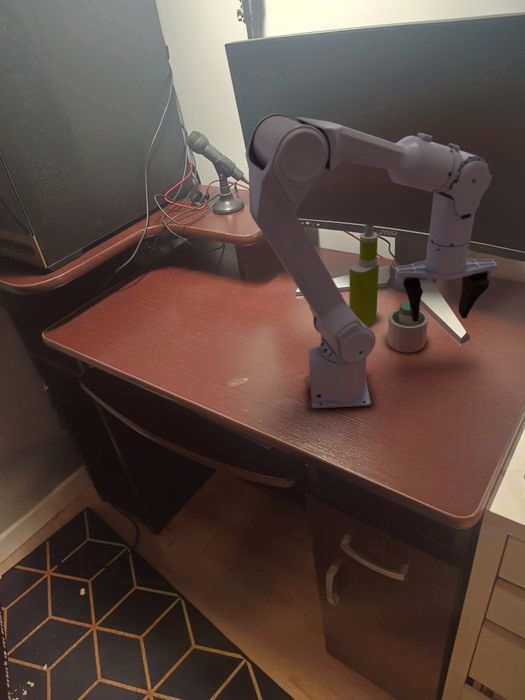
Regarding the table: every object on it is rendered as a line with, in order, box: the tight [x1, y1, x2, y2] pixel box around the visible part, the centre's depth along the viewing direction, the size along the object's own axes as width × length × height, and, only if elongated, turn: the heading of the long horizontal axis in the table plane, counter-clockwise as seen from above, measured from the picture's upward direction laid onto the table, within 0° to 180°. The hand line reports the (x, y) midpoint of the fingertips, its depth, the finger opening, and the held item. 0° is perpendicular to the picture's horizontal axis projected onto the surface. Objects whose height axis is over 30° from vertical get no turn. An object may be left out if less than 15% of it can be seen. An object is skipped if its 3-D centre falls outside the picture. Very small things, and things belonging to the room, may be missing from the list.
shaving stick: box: [398, 299, 421, 326], centre depth 85 cm, size 4×4×8 cm
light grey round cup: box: [387, 307, 429, 353], centre depth 86 cm, size 7×7×6 cm
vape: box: [348, 223, 380, 327], centre depth 88 cm, size 4×6×20 cm, turn 129°
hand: (438, 316), depth 76 cm, fingers open, 7 cm apart
